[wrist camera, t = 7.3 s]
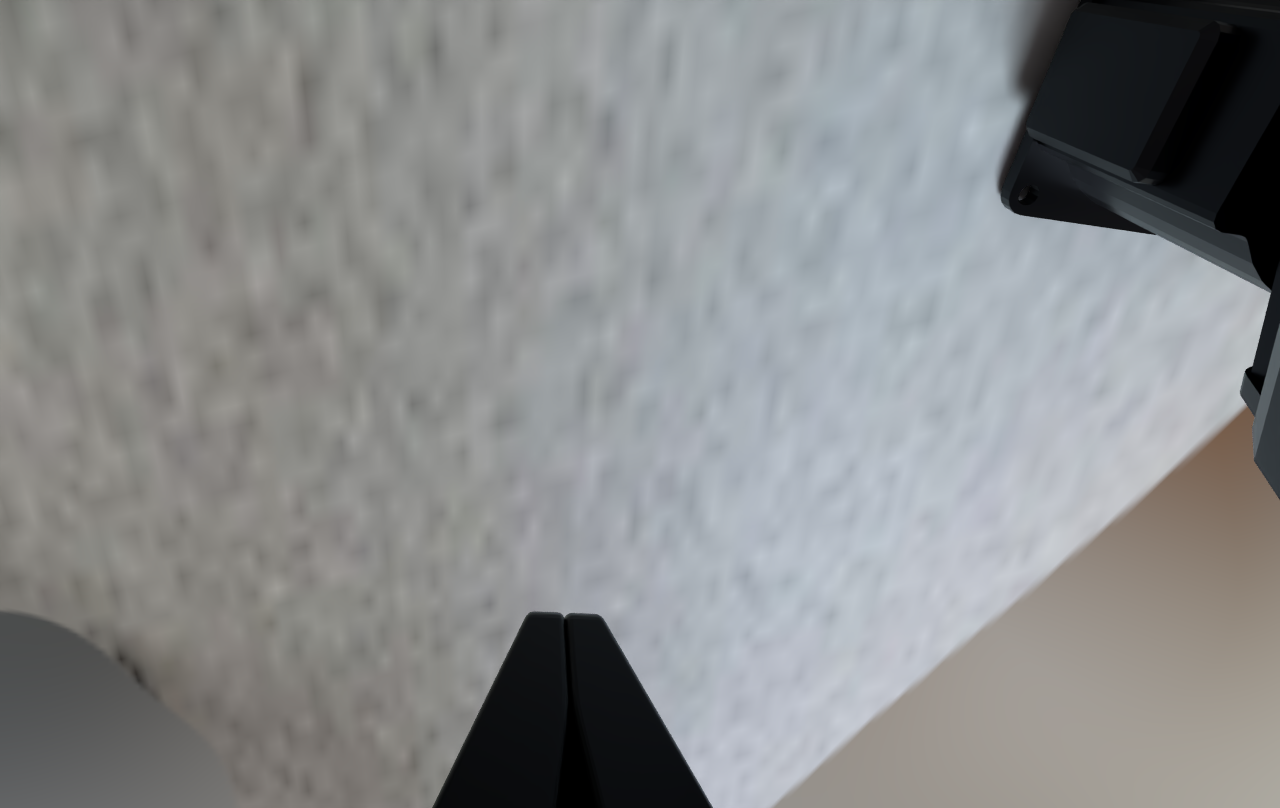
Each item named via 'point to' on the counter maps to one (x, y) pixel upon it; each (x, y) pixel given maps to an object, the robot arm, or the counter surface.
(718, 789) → the counter surface
